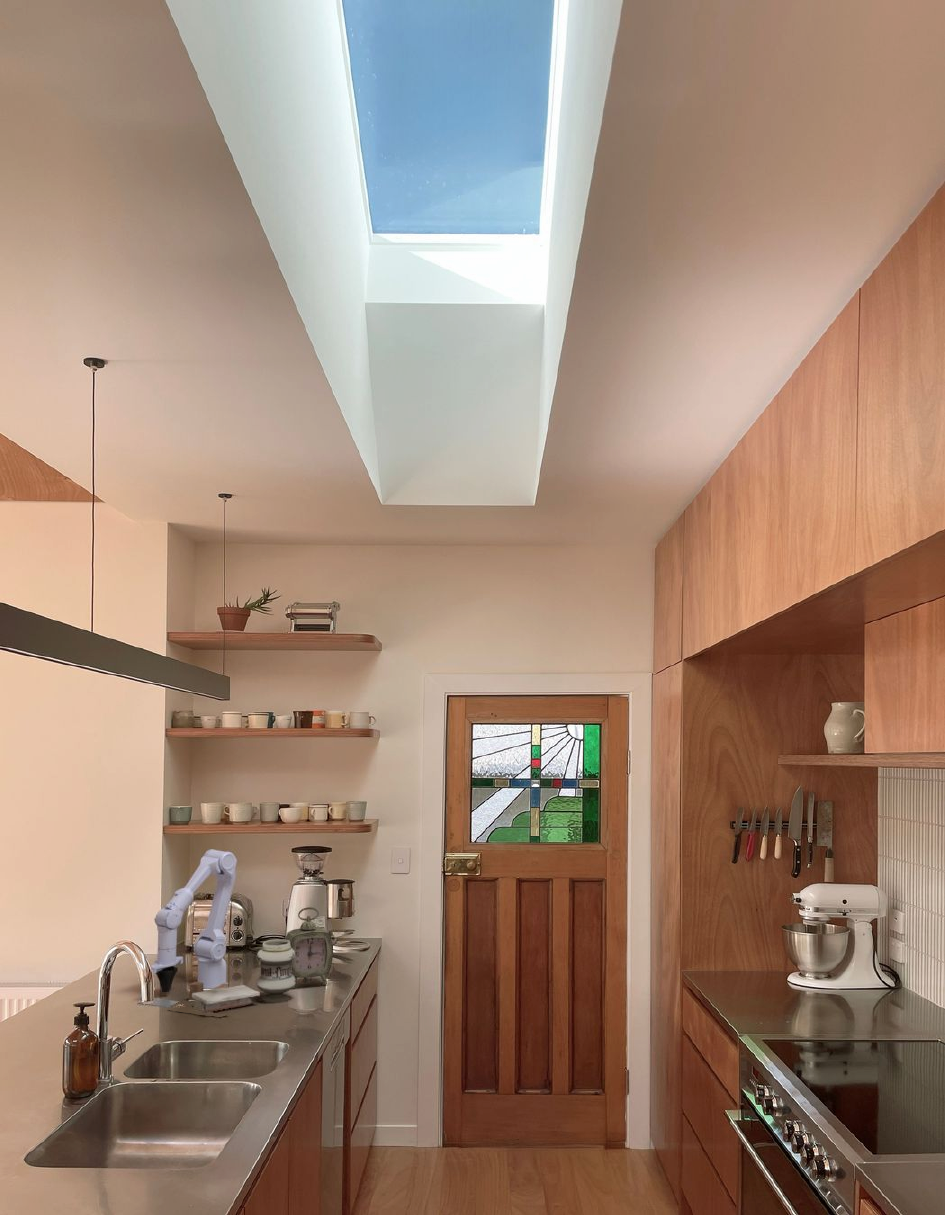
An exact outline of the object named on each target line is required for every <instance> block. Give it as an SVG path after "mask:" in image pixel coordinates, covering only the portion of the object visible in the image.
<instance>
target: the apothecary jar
mask: <svg viewBox="0 0 945 1215" xmlns="http://www.w3.org/2000/svg"><path fill="white" fill-rule="evenodd" d="M256 957H257V960H258V961H259V962H260V976H258V978H257V980H256V986H257V988H258V990H259V991H261V992H262V993H263V992H264V993H267V994H266V995H264V996H262V997H261V998H260V999H259V1002H260V1003H263V1002H264V1003H263V1004H267V1003H269V1004H276V1003H277V1004H278V1003H284V1002H288V1000H289V1001H291V1000H292V997H291V996H289V995H287V994H285V993H286V992H289V991H291V990H292V989H294V988H293V987H294V985H296V982H297V979H295V977H294V976H293V975H292V967H291V966H292V965H291V963H292V960H293V959H294V958H295V951H294V949H293V948H291V946H290V941H289V940H285V938H284V939H280V938H277V939H268V940H266V941H263V943H262V946H261V949H260V950H258V951H257V956H256ZM290 999H291V1000H290Z"/></svg>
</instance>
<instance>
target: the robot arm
mask: <svg viewBox="0 0 945 1215" xmlns="http://www.w3.org/2000/svg"><path fill="white" fill-rule="evenodd" d="M237 862H238V859H237V858H236V856H235V855H234V853H233V852H231V851H224V850H223V851H222V850H218V849H213V848H212V849H210V848H209V849H208V850H207V851H206V852H205V853H204V855H203V856H202V857H201V858H200V863H199V865H198V867H197V868H196V870H195V871H194V873H193V875H192V876H191V877H190V879H189V881H188V882H187V884H185V886H184V887H182V888H179V889H178V890H175V892H174V895H173V896H172V898H171V899H170V900H169V901H168V903H167V904H166V905H165V907H164V908H161V909H159V910H158V911H157V913H156V915H155V917H154V923H155V925H156V927H157V928H156V929H157V959H156V960H155V961H154V964H152V965H151V966H150V967H152V970H153V975H155V974H156V975H155V976H156V977H157V979H158V981H159V985H160V990H161V992H162V993H170V992H171V988H172V985H173V984H172V983H173V981H174V979H175V975H176V974H177V972H178V970H179V969H178V967H177V965H179V964H180V965H181V964H183V963H184V956H177V943H178V942H177V941H178V940H177V939H178V938H177V936H178V927H179V925H181V923H182V917H183V915H184V913H185V912H186V910H187V909H188V907H189V906H190V904H191V903H192V902H193V900H194V894H195V892H197V890H198V889H199V888H200V887H201V885H202V884H203V883H204V882H205V881H206V880H207V878H208V877H210V876H213V875H214V876H215V878H216V879H217V882H216V886H215V891H214V894H213V898H212V902H211V907H210V909H209V910H210V911H209V913H208V919H207V923H206V926H205V928H204V929H203V930H202V931H200V932H199V934H198V938H197V940H196V941H195V943H194V945H193V952H194V955H195V956H196V960H197V982H202V983H204V986H203V989H216V988H219V987H220V986H221V985H223V984H227V985H228V984H229V983H228V982H227V962H226V960H225V959H224V957H225V955H226V953H227V952H226V951H227V944H226V943H227V937H226V935H225V933H224V932H223V929H224V925H225V922H226V918H227V914H228V910H229V907H230V902H231V898H232V893H233V890H234V886H235V881H236V878H237V877H236V876H237V873H236V867H237Z"/></svg>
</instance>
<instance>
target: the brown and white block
mask: <svg viewBox="0 0 945 1215" xmlns="http://www.w3.org/2000/svg"><path fill="white" fill-rule="evenodd" d="M203 986H204V983H202V982H198V981H194V982H192V983H190V984H189V993H188V994H189V995H188V996H189V997H188V998H189V999H188V1002H189V1001H195V999H194V998H192V993H197V992H203V991H204V988H203Z"/></svg>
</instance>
